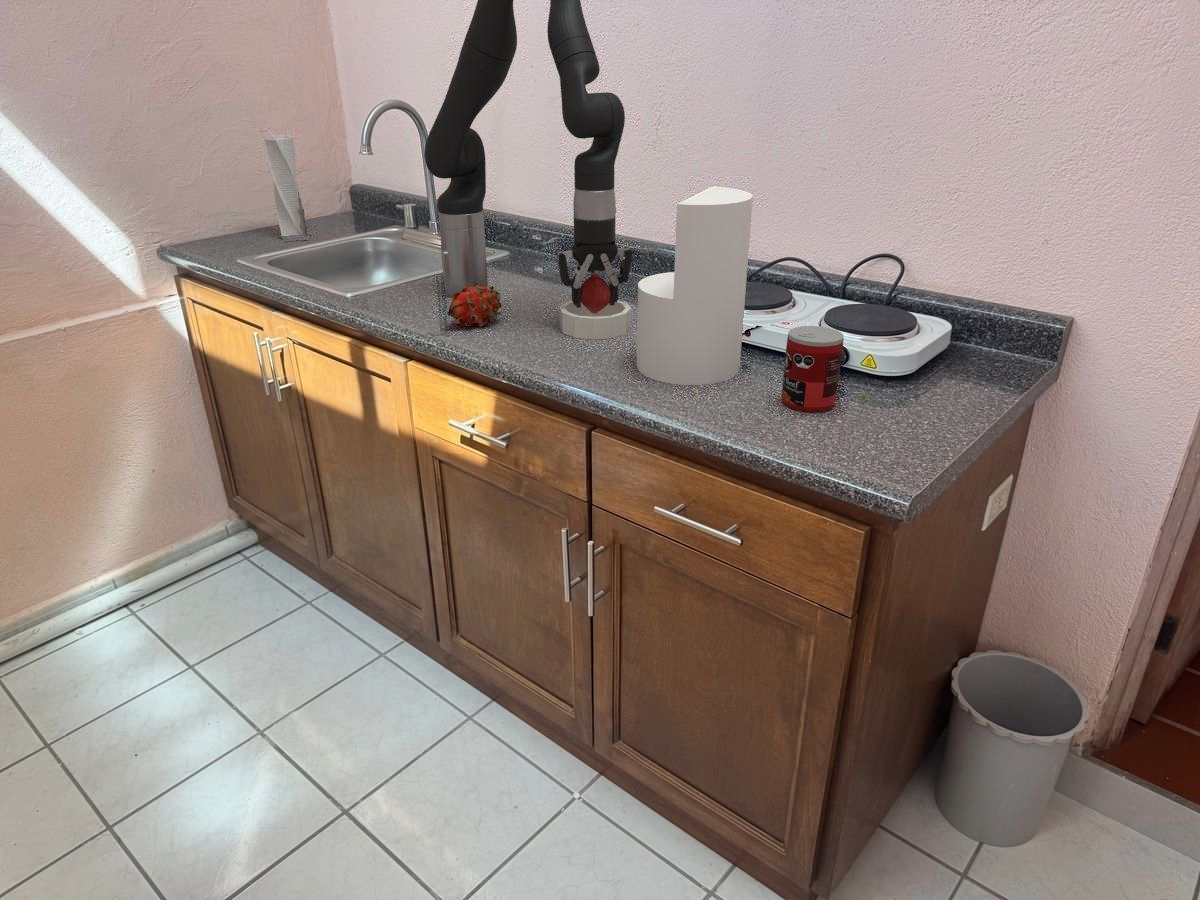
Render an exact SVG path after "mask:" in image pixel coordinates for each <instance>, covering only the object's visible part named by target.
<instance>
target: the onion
mask: <svg viewBox="0 0 1200 900" xmlns="http://www.w3.org/2000/svg"><path fill="white" fill-rule="evenodd" d="M580 288H581V302H582V304H583V305H584V306H585V307H586V308H587V309H588V310H589V311H590V312H591V313H593V314H596V313H598V312H599V311H601V310H602V309H603V308H605V307H606V306H607V305H608V303H609V301H610V297H611V293H610V289H609V284H608V283H607V282H606V281H605V280H604V279H603V278H602V277H601V276H600V275H598V274H597V273H596V270H595V271H592V272H591V274H590V277H588V278H587V279H586V280H585V281H583V283H582V284H581V285H580Z"/></svg>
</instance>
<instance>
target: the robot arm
mask: <svg viewBox="0 0 1200 900" xmlns="http://www.w3.org/2000/svg"><path fill="white" fill-rule="evenodd" d="M549 1H550V4H549V13H548V20H547V40H548V46H549V49H550V52H551V54H552V55H551V56H552V59H553V62H554V65H555V67H556V70H557V72H558V73H557V74H558V76H559V85H560V96H561V97H560V98H561V114H562V119H563V123H564V126H565V127H566V129H567V131H568V132H569V133H570V134H571V135H572V136H573V137H574V138H576V139H581V140H582V139H592V138H593V139H592V142H591V145H590V148H589V149H586V150H585V151H583V152H581V153H578V154H577V155H576V157H575V159H574V165H573V166H574V167H573V169H574V170H573V171H574V172H573V173H574V193H573V207H572V208H573V246H572V247H571V250H566V251H563V250H558V251H557V252H556V257H557V262H558V269H559V270H558V271H559V275H560V280H561V282H562V284H563V285H564V286H566V287H571V301H572V302H573V304H574V305H575V306H576V307H577V308H581V285H582V284H581V283H582V281H583V279H584V278H585V276H586V274H587V273H590V272H591V273H592V271H595V272H596V271H597V272H605V275H606V276H607V278H608V280H609V283H608V286H609V289H610V293H611V297H610V301H609V304H610V305H611V306H613V305H615V302H617V301H618V300H619V285H620V284H622V283H627V282H628V281H629V275H630V271H631V270H630V269H631V264H632V263H631V262H632V258H633V251H632V250H631V249H630V248H629V247H627V246H626V247H624V248H623V247H621V248H620V247H618V246H617V245H616V214H617V206H616V205H617V203H616V193H615V192H616V191H615V164H616V163H615V162H616V160H617V156H618V152H619V148H620V145H621V140H622V136H623V133H624V128H625V121H626V115H625V114H626V113H625V107H624V106H623V105H624V104H623V103H622V100H621V99H620V98H619V96H618V95H616V94H615V93H613V92H610V91H608V92H605V91H604V92H593V93H591V92H590V93H588V91H587V87H586V86H587V85H589V84H591V83H593V82H595V80H597V78H598V77H599V75H600V69H601V68H600V63H599V59H598V57H597V54H596V50H595V47H594V45H593V41H592V39H591V35H590V32H589V30H588V26H587V23H586V20H585V16H584V12H583V7H582V4H581V3H582V2H581V0H549ZM514 10H515V9H514V0H477V2H476V5H475V9H474V12H473V15H472V18H471V20H470V23H469V26H468V29H467V31H466V34H465V37H464V40H463V43H462V47H461V49H460V52H459V57H458V61H457V63H456V66H455V69H454V71H453V73H452V77H451V80H450V84H449V85H448V89H447V91H446V95H445V97H444V100H443V102H442V105H441V107H440V110H439V112H438V114H437V115H436V118H435V119H434V122H433V123H432V127H431V129H430V130H429V133H428V135H427V138H426V141H425V145H424V160H425V161H424V162H425V165H426V168H427V169H428V171H429V172H430V174H431V175H432V176H434V177H436V178H439V179H450V183H449V185H448V187H447V188H446V190H445V191H443V192H442V193H441V194H440V195H439V196H438V197H437V210H438V211H437V212H438V223H439V224H438V225H439V237H440V254H441V265H442V275H443V276H442V278H443V288H444V294H445V297H447V298H448V297H452V298H453V295H454V294H455V293H457V292H459V291H462V288H463V287H464V286H467V287H469V286H470V287H475V286H476V284H475V283H479V285H480V286H482V287H486V286H489V280H488V268H487V265H488V264H487V251H486V248H487V247H486V234H485V219H484V216H485V215H484V201H485V197H486V191H487V183H486V182H487V178H486V177H487V174H486V173H487V171H486V169H487V165H486V151H485V146H484V143H483V140H482V138H481V136H480V134H479V133H478V132H477V131H476V130H475V129H473V128H472V124H473V122H474V121H475V119H476V118H477V116H478V115H479V114H480V112H482V110H483V109H484V107H486V105H487V104H488V103H489V102H490V101H491V100H492V98H493V97H494V96H495V95H496V94H497V92H498V91H499V90H500V88H501V87H502V85H504V84H503V83H505V81H506V78H507V76H508V74H509V71H510V68H511V65H512V62H513V61H514V60H513V59H514V57H515V55H516V52H517V47H518V34H517V33H518V32H517V31H518V30H517V25H516V24H517V23H516V19H515V11H514ZM617 255H618V258H619V260H620V267H619V273H618V274H617V275H616V273H615V270H614V268H613V266H612V262H613V260H615V258H616V257H617ZM572 257H573V258H574V260H575V261H576V262H577V265H576V266H575V269H574V273H573V275H572V278H571V277H570V275H569V274H570V273H569V268H568V264H569V263H570V262H571V258H572Z"/></svg>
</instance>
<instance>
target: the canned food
mask: <svg viewBox="0 0 1200 900" xmlns="http://www.w3.org/2000/svg"><path fill="white" fill-rule="evenodd" d="M844 336H845V335H844V334H843V333H842V332H841V331H839V330H837V329H834V328H831V327H827V326H820V325H803V326H796V327H793V328H791V329H789V330H788V332H787V339H786V347H785V348H786V349H785V356H784V357H785V358H784V369H783V379H782V387H781V389H782V390H781V398H782V399H781V400H782V403H783V404H784V405H785V406H786V407H788V408H789V409H793V410H795V411H799V412H806V413H820V412H826V411H828V410H831V409H832V408H833V407H834V405H835V403H836V400H837V399H836V398H837V391H838V385H839V380H840V379H839V378H840V370H841V365H842V356H843V355H842V354H843V349H844V339H845V338H844Z"/></svg>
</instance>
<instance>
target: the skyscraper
mask: <svg viewBox="0 0 1200 900" xmlns="http://www.w3.org/2000/svg"><path fill="white" fill-rule="evenodd" d="M259 131H260V135H261V138H262V141H263V147H264V150H265V156H266V159H267V163H268V166H269V171H270V173H271V177H272V180H273V192H274V193H273V194H274V200H275V201H274V203H275V209H276V214H277V219H278V224H279V229H280V235H281V237H282V236H289V235H290V236H291V235H302V236H308V234H309V233H308V225H307V223H306V218H305V208H303V202H302V198H301V193H300V189H299V186H298V183H297V180H296V153H295V143H294V137H293V136H292V135H291V134H290V135H288V134H287V133H286V134H284V133H282V134H273V133H272V131H270V130H268V129H264V128H263V129H260V130H259ZM264 132H265V133H269V134H270V135H271V138H265V136H264V134H263V133H264Z"/></svg>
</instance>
